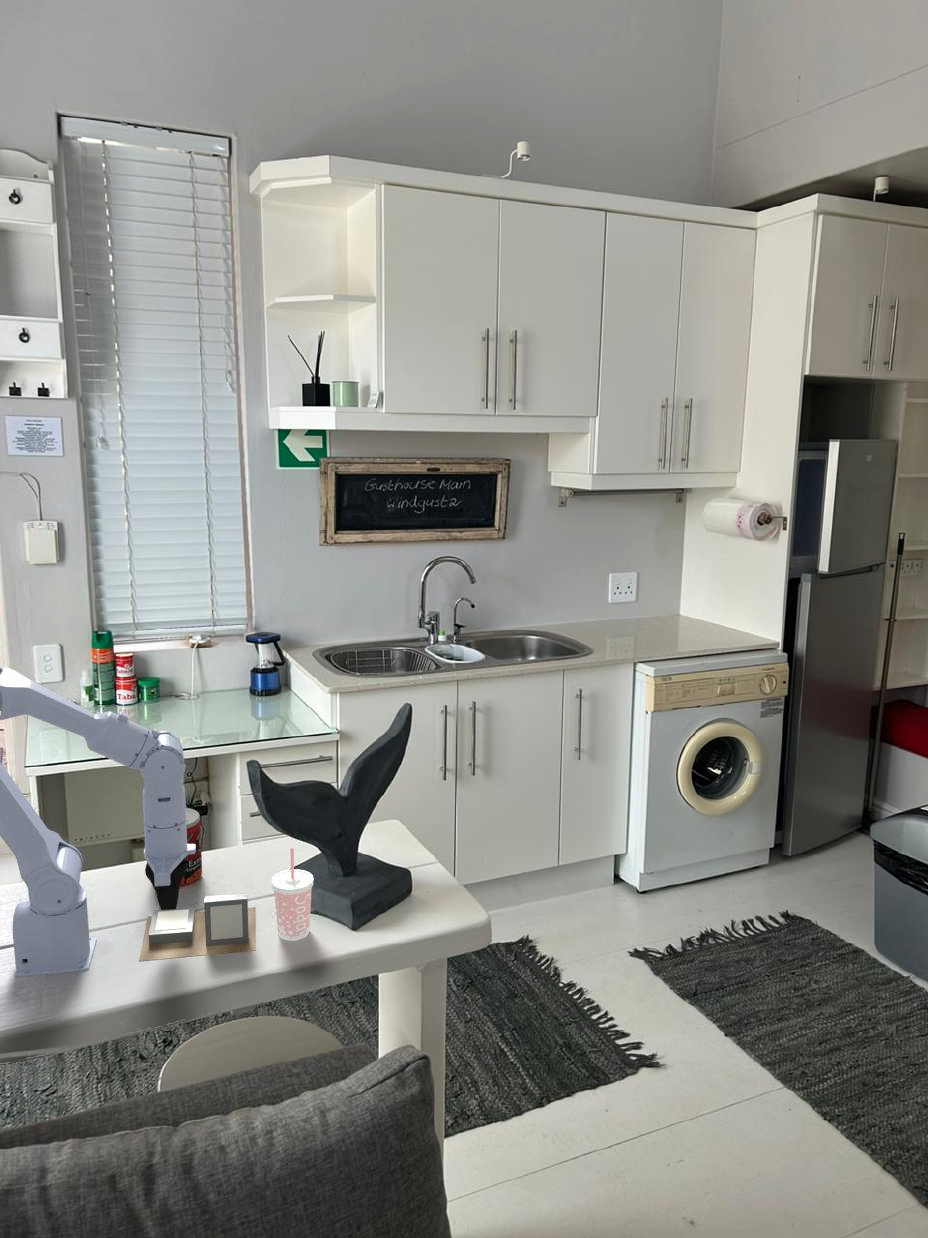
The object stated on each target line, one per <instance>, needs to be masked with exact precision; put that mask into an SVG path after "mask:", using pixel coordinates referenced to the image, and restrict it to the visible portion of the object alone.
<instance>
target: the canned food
mask: <svg viewBox="0 0 928 1238" xmlns="http://www.w3.org/2000/svg"><path fill="white" fill-rule="evenodd" d="M186 828H187V844H195V845H196V852H195V854H190V855H188V863H187V870H186V872H185V875H184V876H183V878H182V881H181V884H180V888H184V887H188V886H190V885H192V884H193V885H194V884H195V883H196V882H198V881H199V880H200V879H201V878H202V876H203V875H202V874H203V862H202V861H203V857H202V856H203V855H202V827H201V817H200V813H199V811H197V810H195V809H193V808H190V807H189V808H188V807H186Z"/></svg>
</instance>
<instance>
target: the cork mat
mask: <svg viewBox="0 0 928 1238" xmlns="http://www.w3.org/2000/svg"><path fill="white" fill-rule="evenodd" d="M256 909H257V908H256V907H248V928H249V942H248V943H237V944H226V945H215V946H206V933H205V911H195V921H194V931H193V940H192V941H189V942H178V943H167V944H156V945H149V930H150V925H151V920H152V915H148V916H147V918H146V924H145V929H144V934H143V939H142V943H141V949H140V954H139V959H138V962H148V961H157V960H167V959H168V960H169V959H170V960H171V959H180V958H181V959H182V958H192V957H199V956H213V955H221V954H231V953H243V952H252V951H253V952H254V951H257V945H256V942H257V939H256V937H257V932H256V931H257V929H256V927H257V921H256V920H257V919H256V916H257V915H256V913H257V912H256Z"/></svg>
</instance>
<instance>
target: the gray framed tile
mask: <svg viewBox="0 0 928 1238" xmlns="http://www.w3.org/2000/svg"><path fill="white" fill-rule="evenodd" d="M248 898H249V895H248V892H246V893H234V894H233V893H232V894H224V895H223V894H221V895H219V894H218V895H211V896H210V895H209V896H204V901H203V902H204V903H203V906H204V912H205V933H206V946H215V945H226V944H237V943H248V942H249V928H248V908H249V902H248V900H249V899H248Z"/></svg>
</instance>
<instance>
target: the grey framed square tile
mask: <svg viewBox="0 0 928 1238" xmlns="http://www.w3.org/2000/svg"><path fill="white" fill-rule="evenodd" d="M195 912H196V908H195V906H185V907H184V906H183V907H176V909H173V910H161V908H160V909H153V910H152V915H151V916H152V920H151V925H150V930H149V945H156V944H167V943H178V942H189V941H192V940H193V931H194V921H195Z"/></svg>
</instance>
